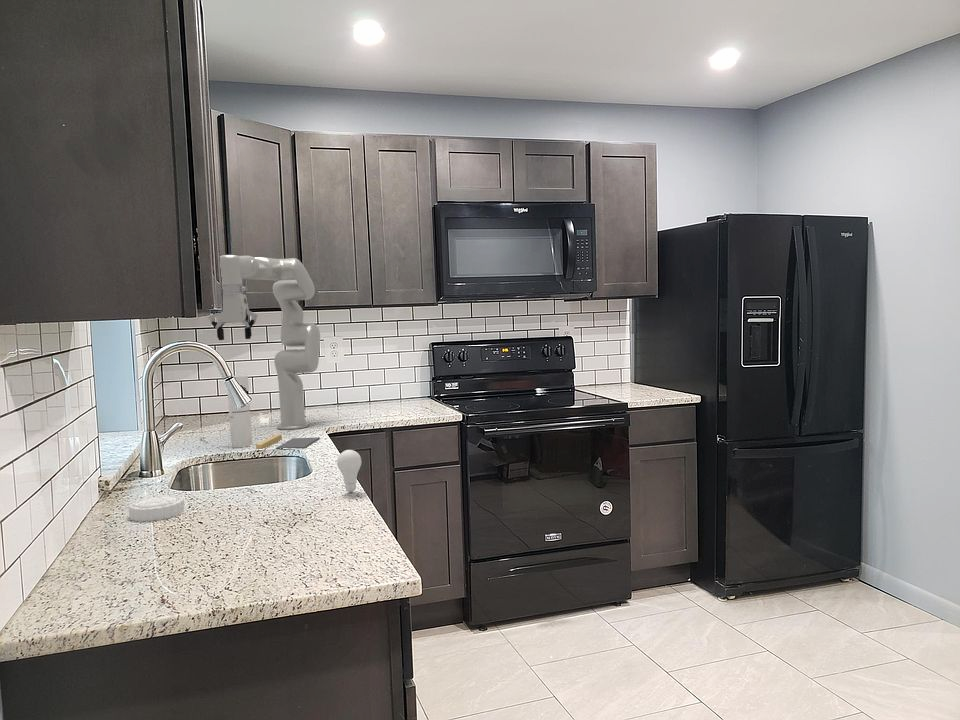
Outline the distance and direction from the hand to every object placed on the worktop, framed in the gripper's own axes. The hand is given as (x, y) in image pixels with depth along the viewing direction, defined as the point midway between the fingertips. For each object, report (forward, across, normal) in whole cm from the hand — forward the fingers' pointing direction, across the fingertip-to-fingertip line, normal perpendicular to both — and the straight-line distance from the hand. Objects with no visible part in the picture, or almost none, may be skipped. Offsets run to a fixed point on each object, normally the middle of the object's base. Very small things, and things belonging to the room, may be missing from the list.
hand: (234, 339), depth 256 cm
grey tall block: (+38, 0, 0) cm, 38 cm away
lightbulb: (+38, -57, +70) cm, 98 cm away
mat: (+38, -20, 0) cm, 43 cm away
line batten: (+38, -10, 0) cm, 39 cm away
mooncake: (+39, -14, +85) cm, 94 cm away
